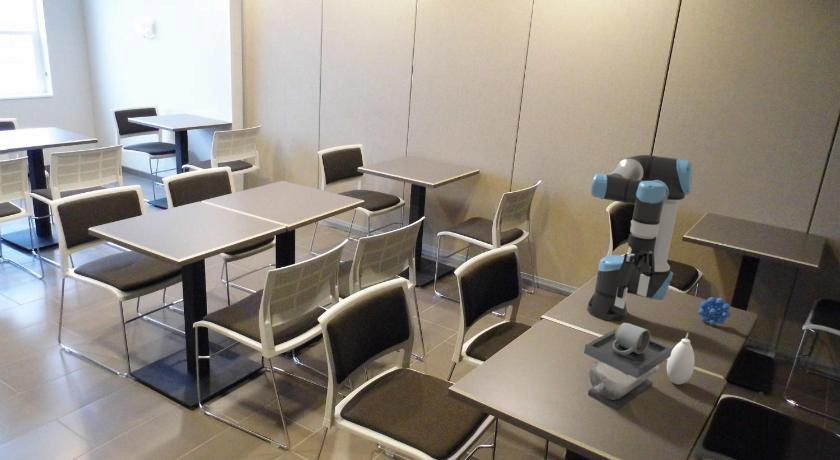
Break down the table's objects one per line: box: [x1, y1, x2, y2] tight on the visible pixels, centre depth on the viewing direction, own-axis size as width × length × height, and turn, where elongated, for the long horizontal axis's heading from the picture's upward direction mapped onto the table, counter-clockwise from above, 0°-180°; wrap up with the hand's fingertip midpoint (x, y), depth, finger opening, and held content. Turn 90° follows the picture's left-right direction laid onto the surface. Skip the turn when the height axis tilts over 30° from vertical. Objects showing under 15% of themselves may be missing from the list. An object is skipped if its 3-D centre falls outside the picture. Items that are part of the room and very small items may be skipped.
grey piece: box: [583, 328, 673, 411], centre depth 185 cm, size 21×17×15 cm
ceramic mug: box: [613, 322, 651, 355], centre depth 182 cm, size 11×8×8 cm
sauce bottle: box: [666, 332, 696, 385], centre depth 190 cm, size 8×8×18 cm
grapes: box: [697, 296, 731, 326], centre depth 234 cm, size 12×7×12 cm, turn 43°
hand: (630, 300), depth 182 cm, fingers open, 13 cm apart
